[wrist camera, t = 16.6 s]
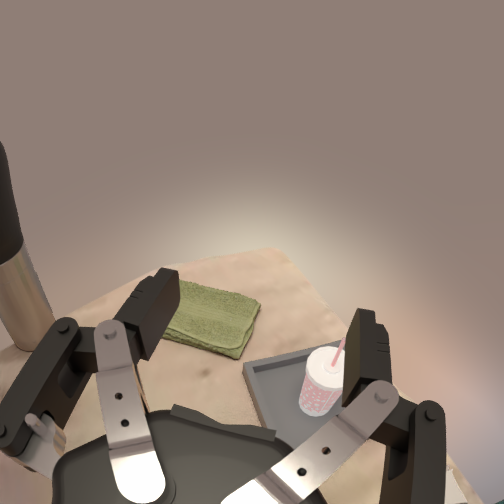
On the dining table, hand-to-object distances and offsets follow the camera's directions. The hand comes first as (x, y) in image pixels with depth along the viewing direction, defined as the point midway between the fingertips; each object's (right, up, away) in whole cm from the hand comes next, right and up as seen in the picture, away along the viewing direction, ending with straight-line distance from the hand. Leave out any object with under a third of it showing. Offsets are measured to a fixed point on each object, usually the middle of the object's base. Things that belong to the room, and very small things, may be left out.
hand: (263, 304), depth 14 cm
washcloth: (-9, -9, +39) cm, 41 cm away
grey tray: (+8, -19, +27) cm, 34 cm away
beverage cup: (+8, -18, +26) cm, 33 cm away
